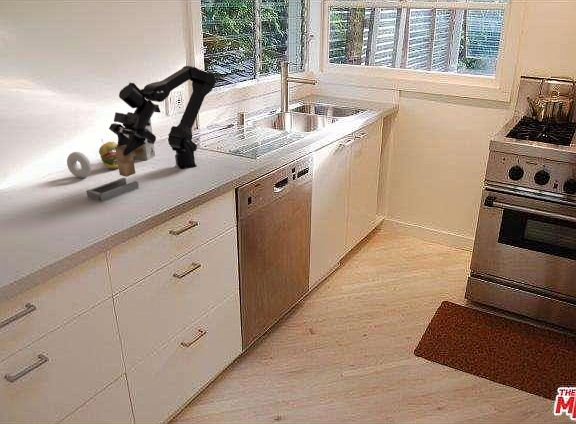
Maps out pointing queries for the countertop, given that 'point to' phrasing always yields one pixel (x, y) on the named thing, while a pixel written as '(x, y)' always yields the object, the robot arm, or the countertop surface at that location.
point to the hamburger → (108, 155)
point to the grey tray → (111, 190)
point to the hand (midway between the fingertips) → (120, 154)
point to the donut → (83, 161)
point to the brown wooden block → (125, 162)
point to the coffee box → (144, 148)
